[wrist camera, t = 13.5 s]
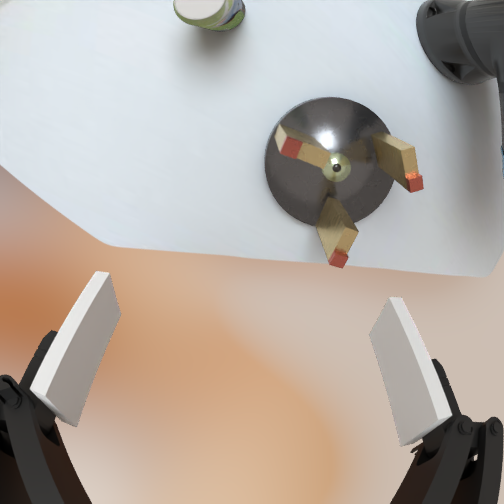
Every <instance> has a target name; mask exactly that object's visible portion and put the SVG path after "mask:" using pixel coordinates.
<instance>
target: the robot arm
mask: <svg viewBox="0 0 504 504" xmlns="http://www.w3.org/2000/svg"><path fill="white" fill-rule="evenodd" d="M417 30H418V35H419V38H420V41H421V44H422V46H423V48H424V50H425V52H426V54H427V56H428V57H429V59H430V60H431V62H432V63H433V64H434V66H435V67H436V68H437V69H438V70H439V71H440V72H441V73H442V74H444V75H445V76H446V77H448V78H449V79H451V80H453V81H455V82H459V83H464V84H478V83H481V82H484V81H487V80H489V79H492V78H497V81H498V88H499V97H500V107H501V123H502V146H501V153H502V158H503V177H504V0H474V1H465V0H427V1H426V2H424V3H423V4H422V5H421V7H420V9H419V11H418V14H417ZM120 316H121V312H120V309H119V306H118V302H117V299H116V295H115V291H114V288H113V284H112V281H111V276H110V273H106V272H98V271H96V272H95V274H94V275H93V276H92V278H91V280H90V281H89V283H88V284H87V286H86V287H85V289H84V290H83V292H82V294H81V295H80V297H79V298H78V300H77V301H76V303H75V304H74V306H73V308H72V310H71V311H70V313H69V314H68V316H67V318H66V319H65V321H64V323H63V325H62V327H61V328H60V330H59V332H56V331H52V330H51V331H50V332H49V333H48V334H47V335H46V336H45V337H44V338H43V339H42V341H41V343H40V345H39V346H38V349H37V350H36V352H35V354H34V357H33V358H32V360H31V361H30V363H29V365H28V368H27V369H26V371H25V373H24V376H23V377H22V380H21V382H20V383H19V385H18V384H17V382H16V381H15V380H14V379H13V378H12V377H11V376H9V375H1V376H0V504H92V502H91V501H90V499H89V497H88V495H87V493H86V492H85V490H84V488H83V486H82V484H81V482H80V480H79V478H78V476H77V474H76V471H75V469H74V467H73V465H72V463H71V460H70V458H69V456H68V453H67V451H66V448H65V446H64V443H63V441H62V438H61V435H60V433H59V430H58V427H57V424H56V423H55V421H54V420H55V417H56V416H57V417H58V418H59V419H60V420H61V421H63V422H65V423H67V424H70V425H72V426H75V427H77V425H78V422H79V419H80V416H81V413H82V410H83V407H84V405H85V402H86V399H87V396H88V393H89V391H90V388H91V385H92V383H93V380H94V377H95V375H96V372H97V370H98V367H99V365H100V362H101V359H102V357H103V355H104V353H105V350H106V347H107V345H108V343H109V341H110V338H111V336H112V334H113V332H114V329H115V327H116V325H117V323H118V321H119V318H120ZM369 336H370V339H371V342H372V345H373V348H374V351H375V354H376V358H377V361H378V364H379V367H380V370H381V374H382V377H383V381H384V384H385V387H386V391H387V395H388V398H389V402H390V406H391V409H392V413H393V417H394V421H395V425H396V429H397V433H398V438H399V442H400V446H405V445H409V444H413V443H415V442H417V441H418V440H420V439H421V438H422V439H423V443H421V444H419V445H418V446H416V447H415V448H413V449H412V451H411V453H413V452H415V451H416V450H418V451H417V452H416V453H415V458H414V460H413V462H412V464H411V466H410V468H409V470H408V472H407V474H406V476H405V478H404V480H403V482H402V483H401V485H400V487H399V489H398V491H397V492H396V494H395V496H394V498H393V499H392V501H391V503H390V504H497V502H498V496H499V490H500V482H501V472H502V462H503V425H502V423H501V421H500V420H499V419H498V418H496V417H491V418H490V419H488V420H487V421H486V422H472V420H471V419H470V418H469V417H468V416H465V415H462V414H461V412H460V410H459V407H458V404H457V401H456V399H455V396H454V393H453V391H452V388H451V386H450V385H449V384H450V383H449V381H448V378H446V377H447V376H446V373H445V371H444V369H443V367H442V365H441V364H440V363H439V362H438V361H437V360H436V359H431V358H430V356H429V354H428V351H427V349H426V347H425V345H424V342H423V341H422V338H421V336H420V334H419V332H418V330H417V327H416V325H415V323H414V321H413V319H412V317H411V315H410V313H409V311H408V309H407V307H406V305H405V303H404V301H403V299H402V297H389V298H388V300H387V302H386V304H385V306H384V308H383V310H382V312H381V314H380V316H379V317H378V319H377V321H376V323H375V325H374V326H373V328H372V330H371V332H370V334H369ZM477 454H478V457H477V460H476V461H474V456H475V455H477Z"/></svg>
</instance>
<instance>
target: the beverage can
mask: <svg viewBox="0 0 504 504" xmlns="http://www.w3.org/2000/svg"><path fill="white" fill-rule="evenodd" d="M173 6H174V10H175V13H176V15H177V16H178V17H179V18H180V19H181V20H182V21H184V22H185V23H187V24H190V25H194V26H198V27H202V28H206V29H210V30H213V31H227V30H230V29H232V28H234V27H236V26H237V25H238V24H239V23H240V22H241V21H242V20H243V18H244V15H245V5H244V3H243V1H242V0H174V4H173Z"/></svg>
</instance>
